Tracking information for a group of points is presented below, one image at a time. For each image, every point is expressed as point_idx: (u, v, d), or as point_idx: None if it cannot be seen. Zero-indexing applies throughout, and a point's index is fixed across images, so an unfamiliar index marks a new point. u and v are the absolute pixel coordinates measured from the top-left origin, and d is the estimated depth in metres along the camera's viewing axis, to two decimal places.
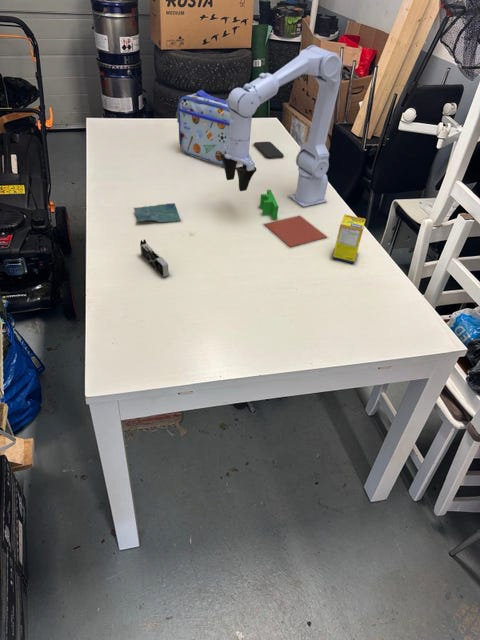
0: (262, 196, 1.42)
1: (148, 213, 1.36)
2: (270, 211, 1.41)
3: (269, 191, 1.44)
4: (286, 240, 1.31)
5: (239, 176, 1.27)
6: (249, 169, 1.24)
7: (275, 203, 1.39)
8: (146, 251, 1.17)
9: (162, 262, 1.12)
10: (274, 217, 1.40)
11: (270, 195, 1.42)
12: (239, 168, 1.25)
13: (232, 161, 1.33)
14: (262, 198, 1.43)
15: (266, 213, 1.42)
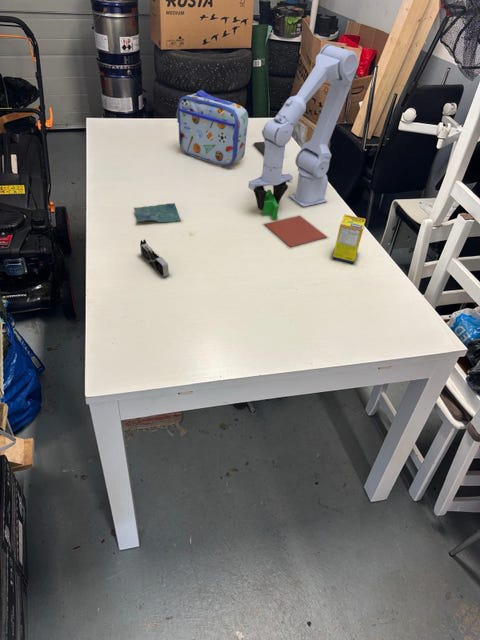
0: None
1: (148, 213, 1.36)
2: (270, 211, 1.41)
3: (269, 191, 1.44)
4: (286, 240, 1.31)
5: None
6: (248, 186, 1.35)
7: (275, 203, 1.39)
8: (146, 251, 1.17)
9: (162, 262, 1.12)
10: (274, 217, 1.40)
11: (270, 195, 1.42)
12: None
13: (277, 189, 1.40)
14: None
15: (266, 213, 1.42)
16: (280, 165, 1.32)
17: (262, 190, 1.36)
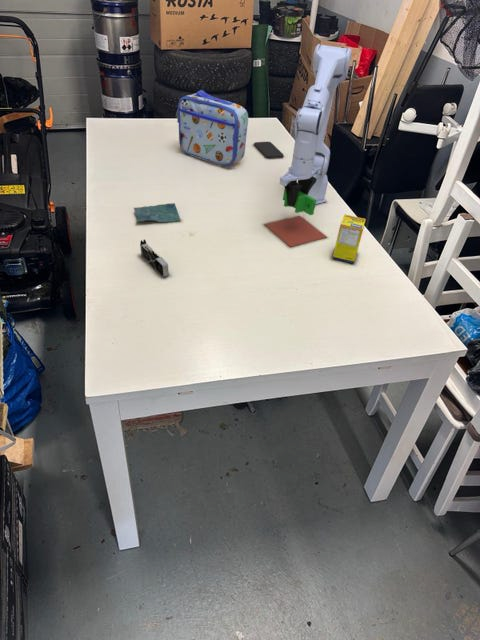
0: None
1: (148, 213, 1.36)
2: (302, 207, 1.30)
3: None
4: (286, 240, 1.31)
5: None
6: (280, 182, 1.22)
7: (310, 197, 1.28)
8: (146, 251, 1.17)
9: (162, 262, 1.12)
10: (311, 212, 1.29)
11: None
12: None
13: (304, 183, 1.28)
14: None
15: (299, 210, 1.30)
16: (314, 155, 1.22)
17: (296, 185, 1.24)
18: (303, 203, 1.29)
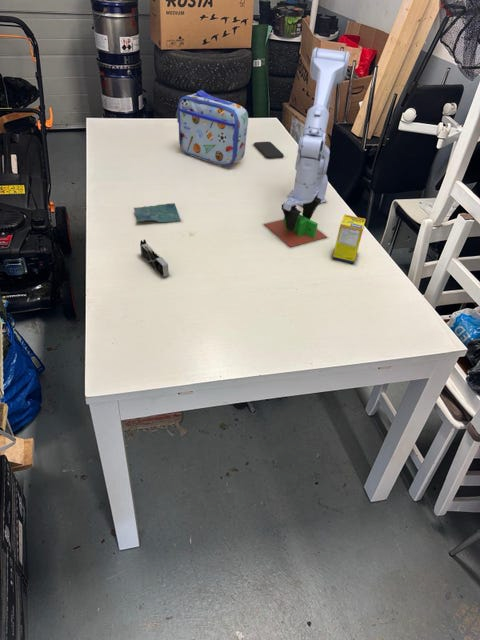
0: None
1: (148, 213, 1.36)
2: (304, 230, 1.33)
3: None
4: (286, 240, 1.31)
5: None
6: (284, 207, 1.25)
7: (311, 221, 1.31)
8: (146, 251, 1.17)
9: (162, 262, 1.12)
10: (313, 235, 1.32)
11: None
12: None
13: (309, 204, 1.32)
14: None
15: (301, 234, 1.33)
16: (316, 179, 1.24)
17: (295, 210, 1.26)
18: (305, 227, 1.32)
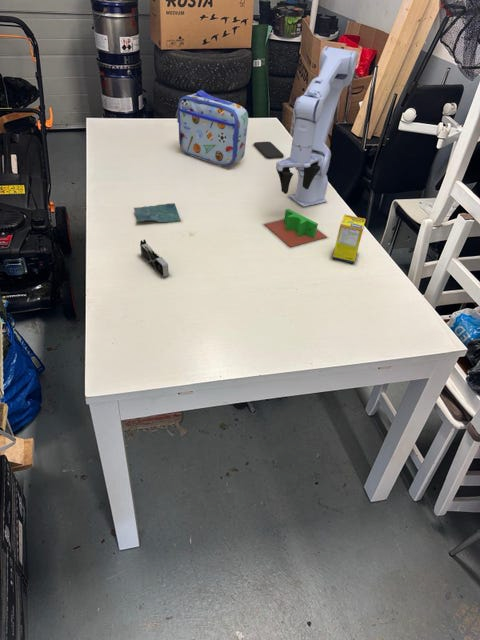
0: (290, 218, 1.32)
1: (148, 213, 1.36)
2: (304, 230, 1.33)
3: (289, 210, 1.35)
4: (286, 240, 1.31)
5: (314, 174, 1.33)
6: None
7: (311, 221, 1.31)
8: (146, 251, 1.17)
9: (162, 262, 1.12)
10: (313, 235, 1.32)
11: (296, 215, 1.33)
12: (316, 167, 1.31)
13: None
14: (290, 220, 1.33)
15: (301, 234, 1.33)
16: (312, 143, 1.25)
17: None
18: (305, 227, 1.32)
